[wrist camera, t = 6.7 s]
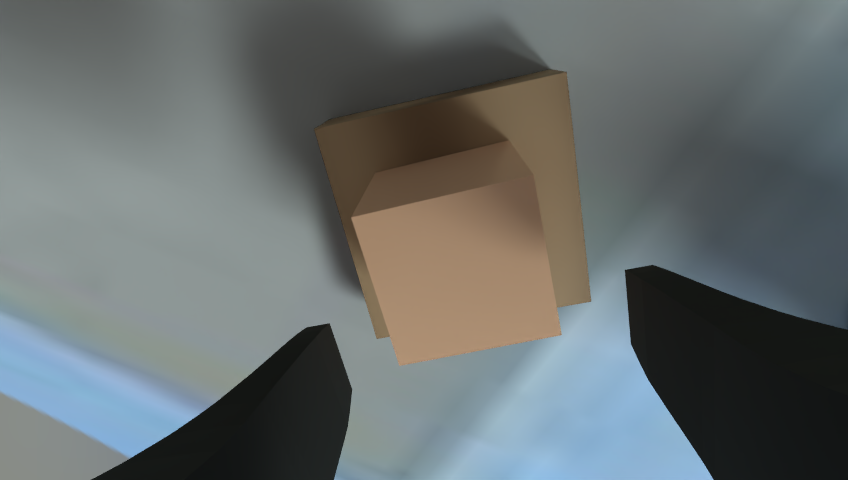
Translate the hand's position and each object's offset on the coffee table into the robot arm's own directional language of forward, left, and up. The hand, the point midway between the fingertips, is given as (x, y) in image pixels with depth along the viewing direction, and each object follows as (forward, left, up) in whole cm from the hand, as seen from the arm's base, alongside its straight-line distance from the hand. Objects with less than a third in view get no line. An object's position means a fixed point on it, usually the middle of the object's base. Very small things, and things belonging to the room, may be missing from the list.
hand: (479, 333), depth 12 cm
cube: (0, 0, -7) cm, 7 cm away
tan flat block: (0, 0, -10) cm, 10 cm away
